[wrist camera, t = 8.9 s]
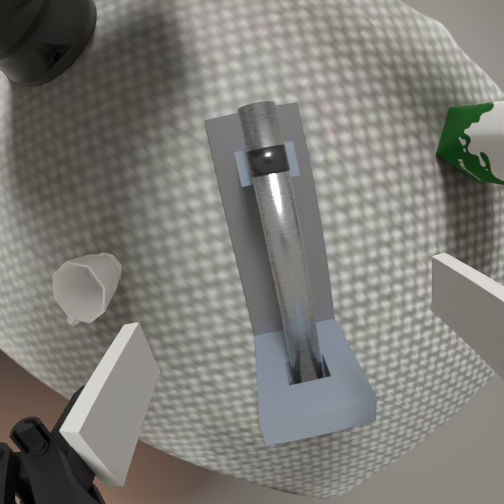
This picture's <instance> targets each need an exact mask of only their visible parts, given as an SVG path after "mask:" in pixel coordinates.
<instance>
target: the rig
mask: <svg viewBox="0 0 504 504" xmlns="http://www.w3.org/2000/svg"><path fill="white" fill-rule="evenodd" d="M276 110H277V115H278V119H279V123H280V128H281V132H282V137H283V142H284V144H285V148H286V152H287V157H288V162H289V167H290V169H289V170H290V175H291V180H292V185H293V190H294V195H295V200H296V205H297V211H298V216H299V221H300V227H301V232H302V238H303V244H304V249H305V255H306V261H307V267H308V273H309V279H310V286H311V292H312V298H313V305H314V312H315V318H316V325H317V333H318V340H319V347H320V355H321V362H322V370H323V375H325V376H326V377H325V378H321V379H317V380H313V381H308V382H304V383H299V384H294V385H289V383H292V382H294V380H293V375H292V370H291V364H290V359H289V354H288V349H287V344H286V339H285V334H284V329H283V324H282V319H281V314H280V309H279V304H278V299H277V294H276V289H275V284H274V279H273V274H272V269H271V264H270V260H269V255H268V250H267V245H266V240H265V236H264V231H263V226H262V221H261V217H260V212H259V207H258V202H257V198H256V193H255V188H254V184H253V179H252V177H251V173H250V168H249V164H248V159H247V155H246V147H245V143H244V138H243V134H242V129H241V125H240V120H239V116H238V113H236V114H232V115H227V116H223V117H218V118H214V119H210V120H206V121H205V124H206V129H207V133H208V138H209V142H210V147H211V151H212V156H213V160H214V165H215V169H216V174H217V178H218V183H219V187H220V191H221V196H222V200H223V205H224V209H225V213H226V218H227V222H228V226H229V230H230V235H231V239H232V243H233V248H234V252H235V256H236V260H237V264H238V269H239V273H240V277H241V281H242V285H243V289H244V294H245V298H246V302H247V306H248V310H249V314H250V318H251V322H252V326H253V330H254V334H255V350H256V370H257V390H258V409H259V425H260V429H261V432H262V435H263V438H264V441H265V444H266V445H272V444H278V443H284V442H289V441H295V440H300V439H305V438H309V437H314V436H319V435H323V434H327V433H331V432H335V431H339V430H343V429H347V428H350V427H354V426H358V425H361V424H364V423H368V422H371V421H374V420H376V402H377V397H376V395H375V393H374V391H373V389H372V388H371V386H370V384H369V382H368V380H367V378H366V376H365V374H364V372H363V370H362V368H361V366H360V365H359V363H358V361H357V359H356V357H355V355H354V353H353V351H352V349H351V348H350V346H349V344H348V342H347V340H346V338H345V336H344V335H343V333H342V331H341V329H340V327H339V325H338V324H337V322H336V320H335V318H334V309H333V301H332V293H331V285H330V278H329V271H328V263H327V257H326V250H325V243H324V237H323V231H322V225H321V219H320V213H319V207H318V201H317V196H316V190H315V185H314V180H313V175H312V169H311V164H310V159H309V155H308V150H307V145H306V140H305V136H304V131H303V126H302V122H301V118H300V113H299V109H298V105H297V103H290V104H284V105H278V106H276Z"/></svg>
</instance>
